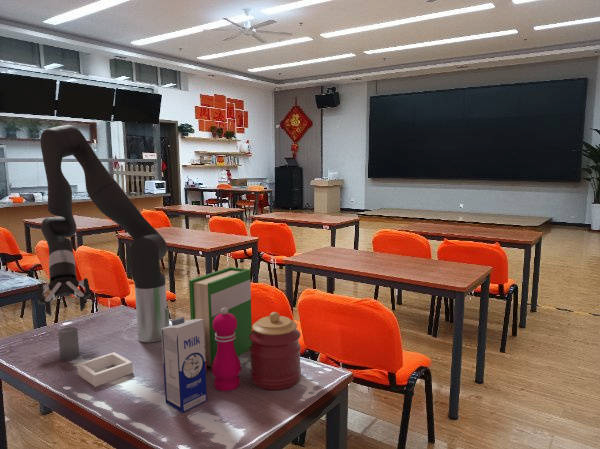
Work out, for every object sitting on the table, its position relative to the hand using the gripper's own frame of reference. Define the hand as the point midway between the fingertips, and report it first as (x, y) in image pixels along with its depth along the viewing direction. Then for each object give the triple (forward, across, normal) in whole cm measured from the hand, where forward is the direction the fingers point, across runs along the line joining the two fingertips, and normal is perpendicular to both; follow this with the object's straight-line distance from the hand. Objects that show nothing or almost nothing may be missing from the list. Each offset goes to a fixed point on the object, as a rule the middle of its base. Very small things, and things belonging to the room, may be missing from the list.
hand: (66, 312), depth 137 cm
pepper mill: (+41, +34, -25) cm, 59 cm away
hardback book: (+29, +39, -13) cm, 50 cm away
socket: (+26, +8, -10) cm, 28 cm away
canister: (+43, +46, -27) cm, 69 cm away
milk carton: (+43, +23, -27) cm, 56 cm away
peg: (+14, 0, +2) cm, 14 cm away
